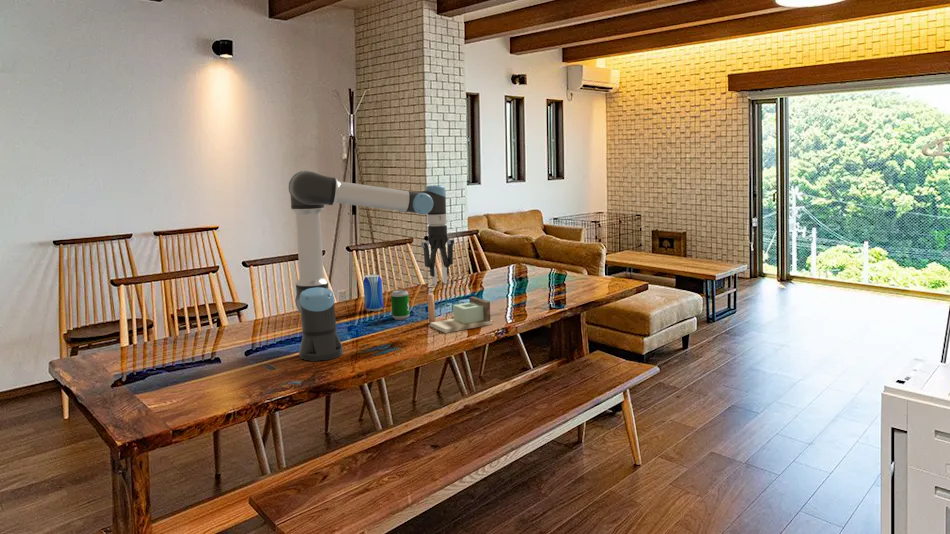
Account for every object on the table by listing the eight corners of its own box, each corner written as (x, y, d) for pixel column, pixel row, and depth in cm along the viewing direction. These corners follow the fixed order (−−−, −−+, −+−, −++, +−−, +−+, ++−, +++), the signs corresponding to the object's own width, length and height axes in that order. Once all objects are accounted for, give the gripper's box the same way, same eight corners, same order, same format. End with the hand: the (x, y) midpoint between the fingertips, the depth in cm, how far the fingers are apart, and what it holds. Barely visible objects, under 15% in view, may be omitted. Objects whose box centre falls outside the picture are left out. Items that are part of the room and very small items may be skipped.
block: (464, 323, 256) (464, 309, 255) (453, 319, 264) (453, 305, 263) (483, 320, 261) (483, 305, 260) (472, 316, 268) (472, 302, 267)
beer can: (364, 308, 297) (361, 275, 294) (381, 307, 299) (379, 273, 297) (366, 312, 289) (364, 278, 286) (384, 310, 291) (382, 276, 289)
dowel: (430, 324, 265) (429, 295, 263) (427, 322, 267) (426, 294, 265) (436, 323, 266) (434, 294, 264) (433, 321, 268) (432, 293, 266)
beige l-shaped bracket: (445, 333, 250) (444, 309, 248) (430, 326, 261) (429, 303, 259) (492, 324, 261) (491, 301, 259) (476, 317, 272) (475, 296, 270)
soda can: (406, 320, 272) (405, 292, 270) (389, 320, 274) (388, 292, 272) (411, 316, 279) (410, 289, 277) (395, 315, 281) (394, 289, 279)
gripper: (421, 227, 242) (424, 287, 246) (460, 223, 250) (463, 282, 254) (413, 226, 249) (416, 284, 252) (451, 222, 257) (454, 279, 261)
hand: (439, 283), depth 253 cm, fingers open, 4 cm apart
